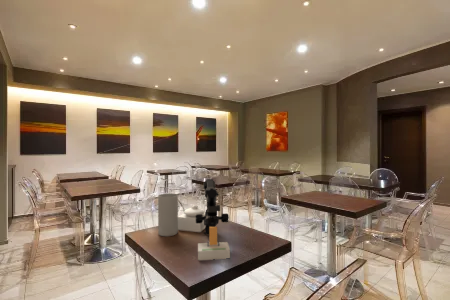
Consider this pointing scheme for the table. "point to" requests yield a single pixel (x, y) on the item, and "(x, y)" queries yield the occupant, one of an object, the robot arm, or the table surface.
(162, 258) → the table surface
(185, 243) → the table surface
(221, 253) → the box
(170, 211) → the cylinder vase
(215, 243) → the breaker lever
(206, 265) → the table surface
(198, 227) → the butter dish
